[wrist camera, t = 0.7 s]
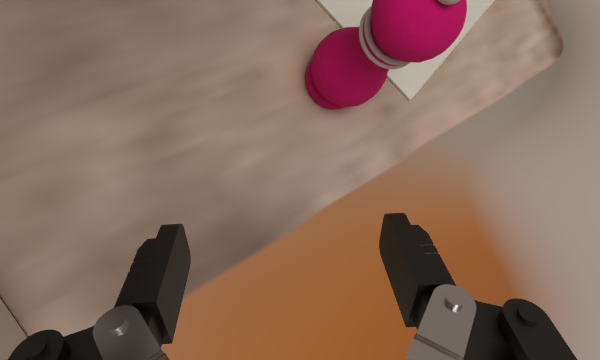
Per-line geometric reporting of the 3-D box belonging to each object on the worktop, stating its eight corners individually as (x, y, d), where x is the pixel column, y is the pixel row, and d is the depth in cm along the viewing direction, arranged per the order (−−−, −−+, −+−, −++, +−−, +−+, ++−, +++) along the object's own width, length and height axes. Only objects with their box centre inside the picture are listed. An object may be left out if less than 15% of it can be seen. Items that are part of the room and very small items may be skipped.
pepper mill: (358, 45, 39) (508, -88, 20) (367, 111, 39) (523, 42, 20) (295, 49, 37) (393, -94, 18) (305, 117, 37) (412, 49, 18)
